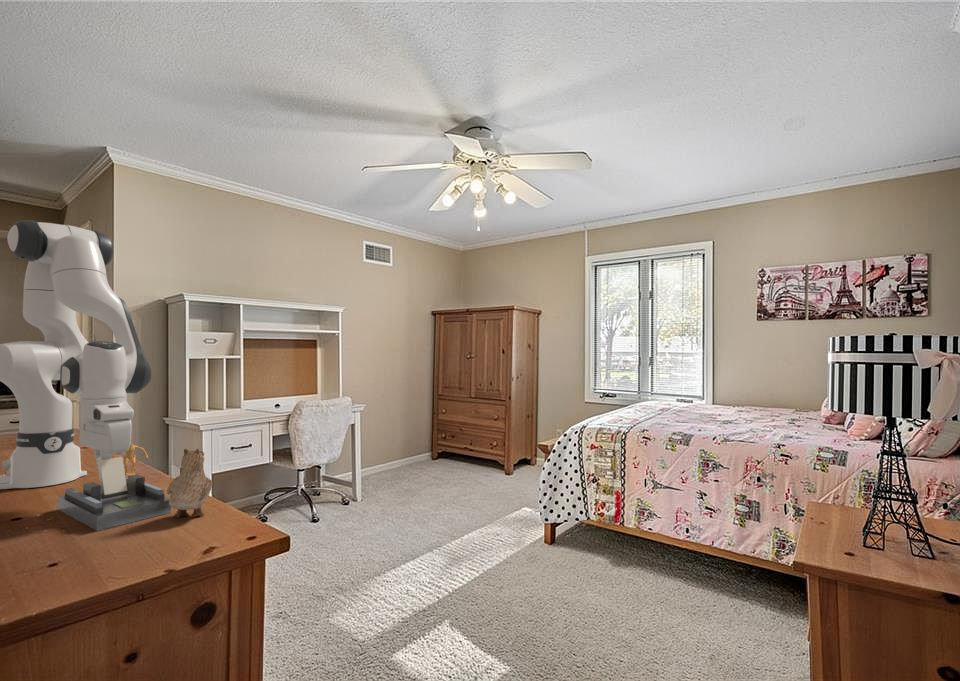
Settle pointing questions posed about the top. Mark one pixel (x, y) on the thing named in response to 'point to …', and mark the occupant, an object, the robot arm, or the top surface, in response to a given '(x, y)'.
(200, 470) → the figurine
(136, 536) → the top surface
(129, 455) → the figurine
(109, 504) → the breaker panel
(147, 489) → the pair of grey bars
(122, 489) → the lever
